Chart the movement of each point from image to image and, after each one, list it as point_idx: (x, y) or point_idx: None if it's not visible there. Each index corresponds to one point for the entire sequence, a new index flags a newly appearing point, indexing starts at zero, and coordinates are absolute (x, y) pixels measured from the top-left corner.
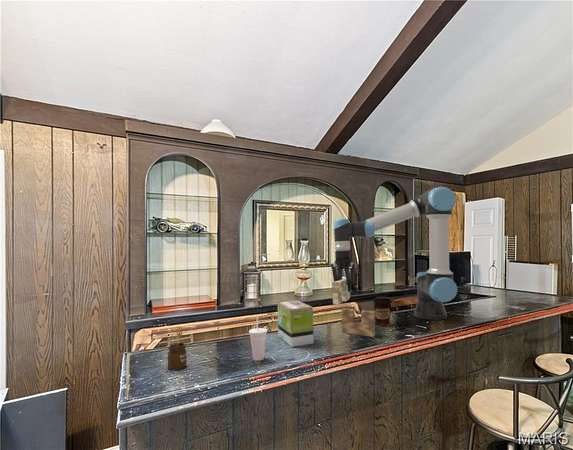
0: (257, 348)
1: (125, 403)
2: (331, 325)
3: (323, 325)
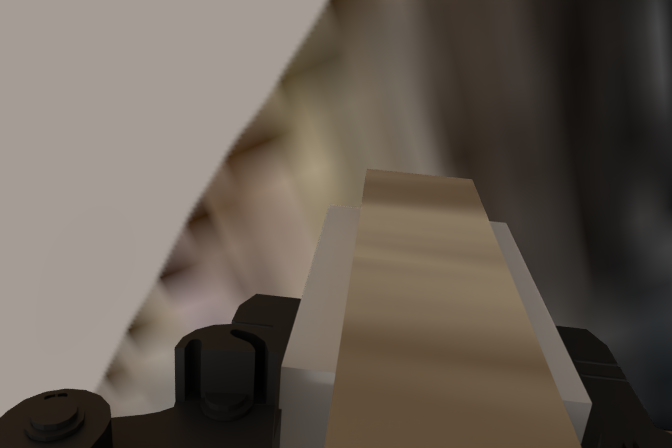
0: None
1: None
2: (282, 280)
3: (210, 307)
